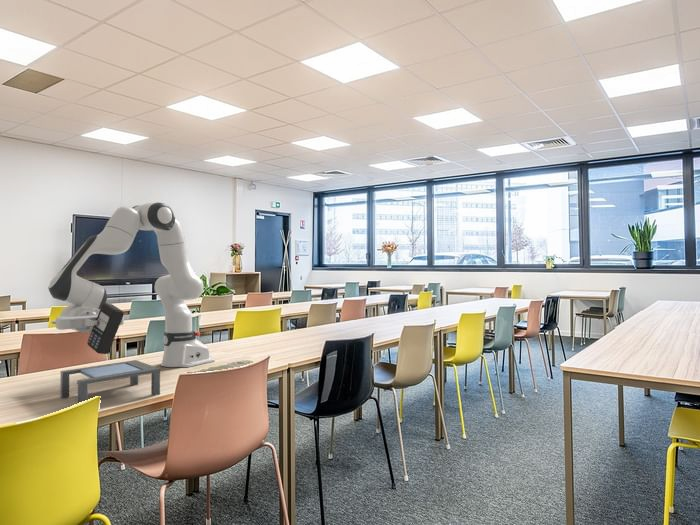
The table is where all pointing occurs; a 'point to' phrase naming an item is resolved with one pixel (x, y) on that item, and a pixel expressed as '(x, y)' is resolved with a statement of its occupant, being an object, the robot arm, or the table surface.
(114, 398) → the table surface
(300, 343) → the table surface
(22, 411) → the table surface
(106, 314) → the card reader
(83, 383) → the stand
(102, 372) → the trapdoor
